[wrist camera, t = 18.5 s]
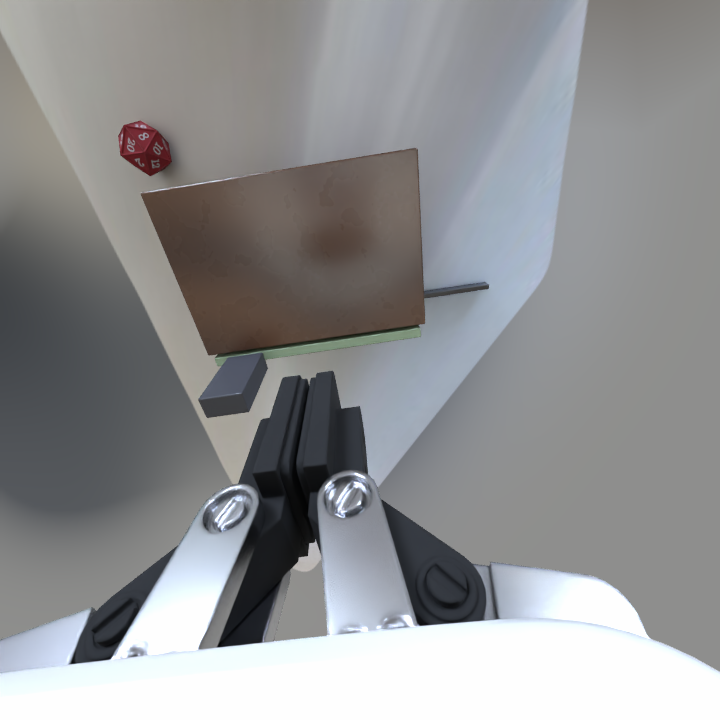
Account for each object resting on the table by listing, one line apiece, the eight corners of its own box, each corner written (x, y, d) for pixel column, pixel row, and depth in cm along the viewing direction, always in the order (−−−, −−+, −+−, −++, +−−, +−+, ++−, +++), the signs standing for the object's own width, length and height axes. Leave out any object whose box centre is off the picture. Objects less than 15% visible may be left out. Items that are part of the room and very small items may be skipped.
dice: (134, 116, 29) (105, 105, 25) (185, 141, 30) (164, 135, 26) (129, 160, 30) (100, 156, 27) (178, 183, 31) (156, 182, 28)
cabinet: (213, 191, 32) (139, 192, 20) (492, 146, 31) (578, 121, 19) (254, 320, 38) (216, 376, 27) (484, 286, 37) (546, 328, 26)
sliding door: (253, 308, 37) (180, 401, 21) (397, 286, 37) (440, 364, 20) (257, 321, 38) (190, 420, 22) (398, 300, 37) (440, 385, 21)
